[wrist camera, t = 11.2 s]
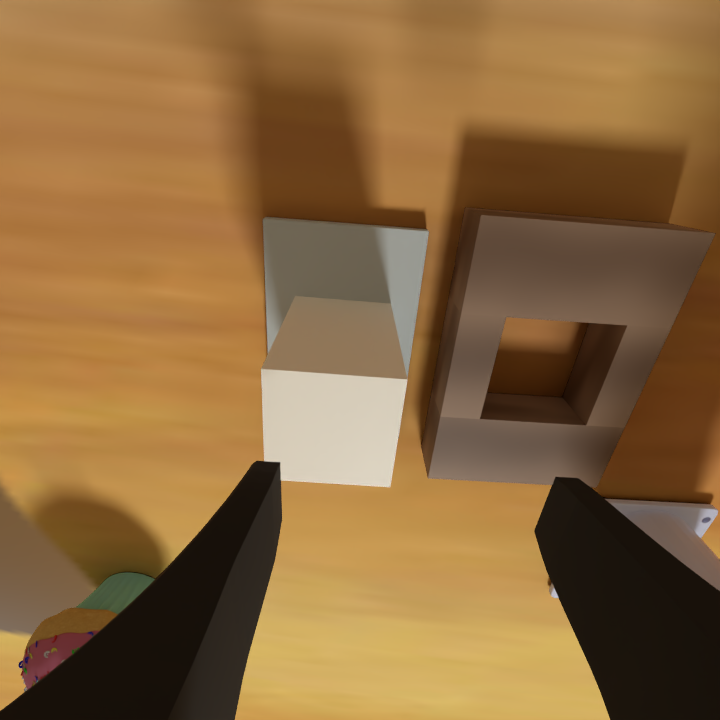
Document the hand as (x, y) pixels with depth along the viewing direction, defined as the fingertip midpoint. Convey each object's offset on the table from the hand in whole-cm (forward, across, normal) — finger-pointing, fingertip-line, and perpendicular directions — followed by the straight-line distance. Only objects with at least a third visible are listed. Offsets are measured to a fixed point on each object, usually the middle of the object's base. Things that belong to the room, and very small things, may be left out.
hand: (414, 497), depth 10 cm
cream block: (+10, +2, 0) cm, 10 cm away
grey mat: (+10, +2, 0) cm, 11 cm away
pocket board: (+10, -7, 0) cm, 13 cm away
